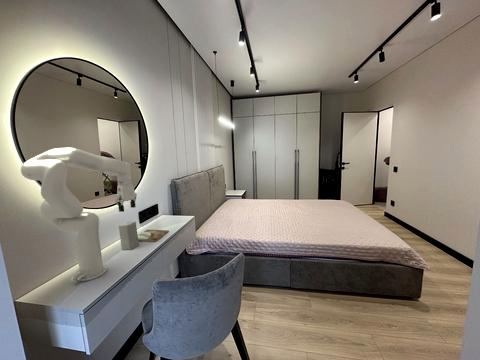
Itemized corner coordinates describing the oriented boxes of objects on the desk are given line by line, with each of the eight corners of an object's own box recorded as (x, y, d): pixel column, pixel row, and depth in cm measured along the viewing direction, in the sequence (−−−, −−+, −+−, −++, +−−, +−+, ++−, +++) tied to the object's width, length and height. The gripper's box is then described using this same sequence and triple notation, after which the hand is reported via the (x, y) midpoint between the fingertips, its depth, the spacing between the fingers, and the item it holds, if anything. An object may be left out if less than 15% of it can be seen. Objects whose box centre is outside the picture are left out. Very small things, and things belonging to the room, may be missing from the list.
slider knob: (155, 238, 139) (154, 233, 139) (150, 238, 140) (150, 232, 139) (157, 236, 142) (156, 231, 142) (153, 236, 143) (152, 231, 142)
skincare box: (130, 250, 127) (127, 225, 125) (120, 249, 129) (117, 225, 127) (139, 244, 136) (137, 221, 133) (130, 243, 137) (127, 220, 135)
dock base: (155, 242, 138) (155, 240, 138) (131, 241, 141) (131, 239, 141) (169, 231, 155) (168, 229, 155) (147, 231, 159) (147, 229, 158)
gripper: (119, 184, 119) (122, 213, 121) (139, 180, 136) (142, 206, 138) (108, 184, 121) (111, 213, 123) (129, 180, 137) (132, 205, 139)
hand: (127, 209), depth 130 cm, fingers open, 9 cm apart
